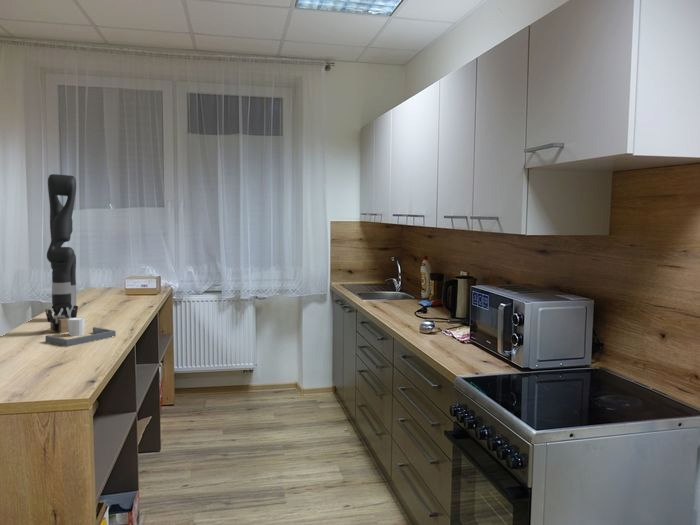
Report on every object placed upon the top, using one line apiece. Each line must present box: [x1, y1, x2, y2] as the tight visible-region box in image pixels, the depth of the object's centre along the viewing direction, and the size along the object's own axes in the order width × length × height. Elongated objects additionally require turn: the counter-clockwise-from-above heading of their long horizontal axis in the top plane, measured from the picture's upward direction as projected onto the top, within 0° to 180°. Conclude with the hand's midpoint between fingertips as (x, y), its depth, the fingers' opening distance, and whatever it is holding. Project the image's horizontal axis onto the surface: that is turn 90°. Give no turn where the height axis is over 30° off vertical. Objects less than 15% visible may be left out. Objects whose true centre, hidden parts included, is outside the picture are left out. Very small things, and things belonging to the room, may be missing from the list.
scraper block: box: [49, 317, 69, 334], centre depth 236 cm, size 8×4×6 cm, turn 60°
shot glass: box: [67, 317, 86, 337], centre depth 230 cm, size 7×7×7 cm
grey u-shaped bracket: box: [44, 326, 117, 347], centre depth 222 cm, size 14×22×2 cm, turn 151°
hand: (62, 330), depth 235 cm, fingers open, 5 cm apart
